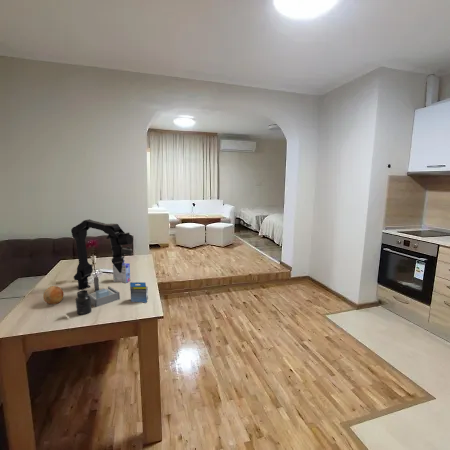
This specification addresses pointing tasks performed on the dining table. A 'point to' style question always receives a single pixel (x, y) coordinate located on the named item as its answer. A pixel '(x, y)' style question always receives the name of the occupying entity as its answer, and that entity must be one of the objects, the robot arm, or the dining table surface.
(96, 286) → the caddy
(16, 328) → the dining table surface
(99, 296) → the light blue cube
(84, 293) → the supplement bottle
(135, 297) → the label tape cartridge
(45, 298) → the onion
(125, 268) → the ink cartridge box
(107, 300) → the bay
